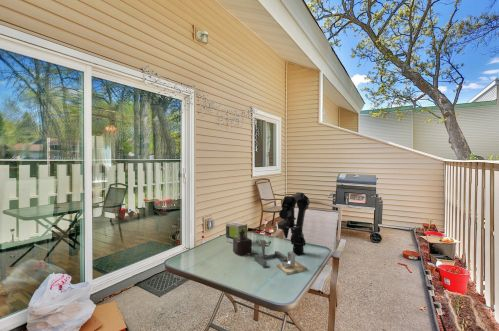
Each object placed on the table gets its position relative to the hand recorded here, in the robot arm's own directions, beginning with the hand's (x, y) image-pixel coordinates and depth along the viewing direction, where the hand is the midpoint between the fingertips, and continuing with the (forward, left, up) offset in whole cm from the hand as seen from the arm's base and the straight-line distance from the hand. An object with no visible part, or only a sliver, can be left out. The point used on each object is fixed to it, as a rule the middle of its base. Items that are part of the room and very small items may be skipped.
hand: (290, 240), depth 162 cm
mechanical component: (+11, -16, -13) cm, 24 cm away
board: (+6, +10, -13) cm, 17 cm away
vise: (+12, -4, -13) cm, 18 cm away
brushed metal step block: (+8, +10, -12) cm, 17 cm away
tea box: (+17, -50, -13) cm, 55 cm away
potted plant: (+22, -25, -13) cm, 36 cm away
